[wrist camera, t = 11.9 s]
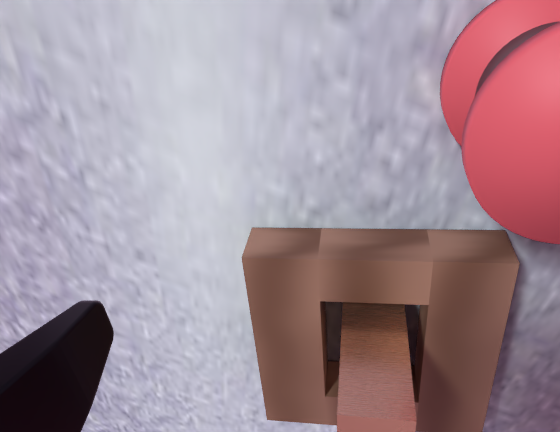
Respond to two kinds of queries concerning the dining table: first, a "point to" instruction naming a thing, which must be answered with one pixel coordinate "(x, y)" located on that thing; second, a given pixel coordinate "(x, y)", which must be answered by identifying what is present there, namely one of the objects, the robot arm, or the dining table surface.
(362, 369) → the reddish brown block
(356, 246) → the board with rectangular hole
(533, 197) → the spool
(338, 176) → the dining table surface
